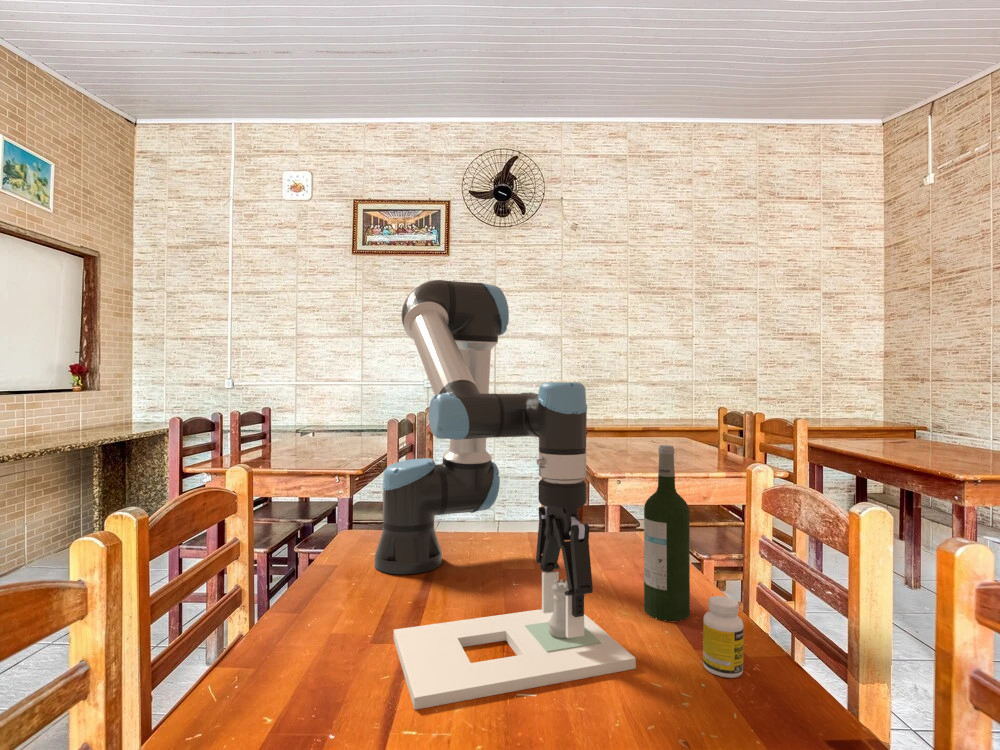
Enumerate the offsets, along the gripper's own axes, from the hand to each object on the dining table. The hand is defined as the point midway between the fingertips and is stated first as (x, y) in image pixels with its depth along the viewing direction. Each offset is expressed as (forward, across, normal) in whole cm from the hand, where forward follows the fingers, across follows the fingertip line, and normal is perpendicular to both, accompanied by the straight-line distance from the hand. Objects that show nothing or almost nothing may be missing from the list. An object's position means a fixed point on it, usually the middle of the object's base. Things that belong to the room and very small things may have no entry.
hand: (562, 623), depth 86 cm
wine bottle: (+4, -5, +23) cm, 24 cm away
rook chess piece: (+2, 0, 0) cm, 2 cm away
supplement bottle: (+4, +14, +19) cm, 24 cm away
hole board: (+3, 0, -9) cm, 10 cm away
